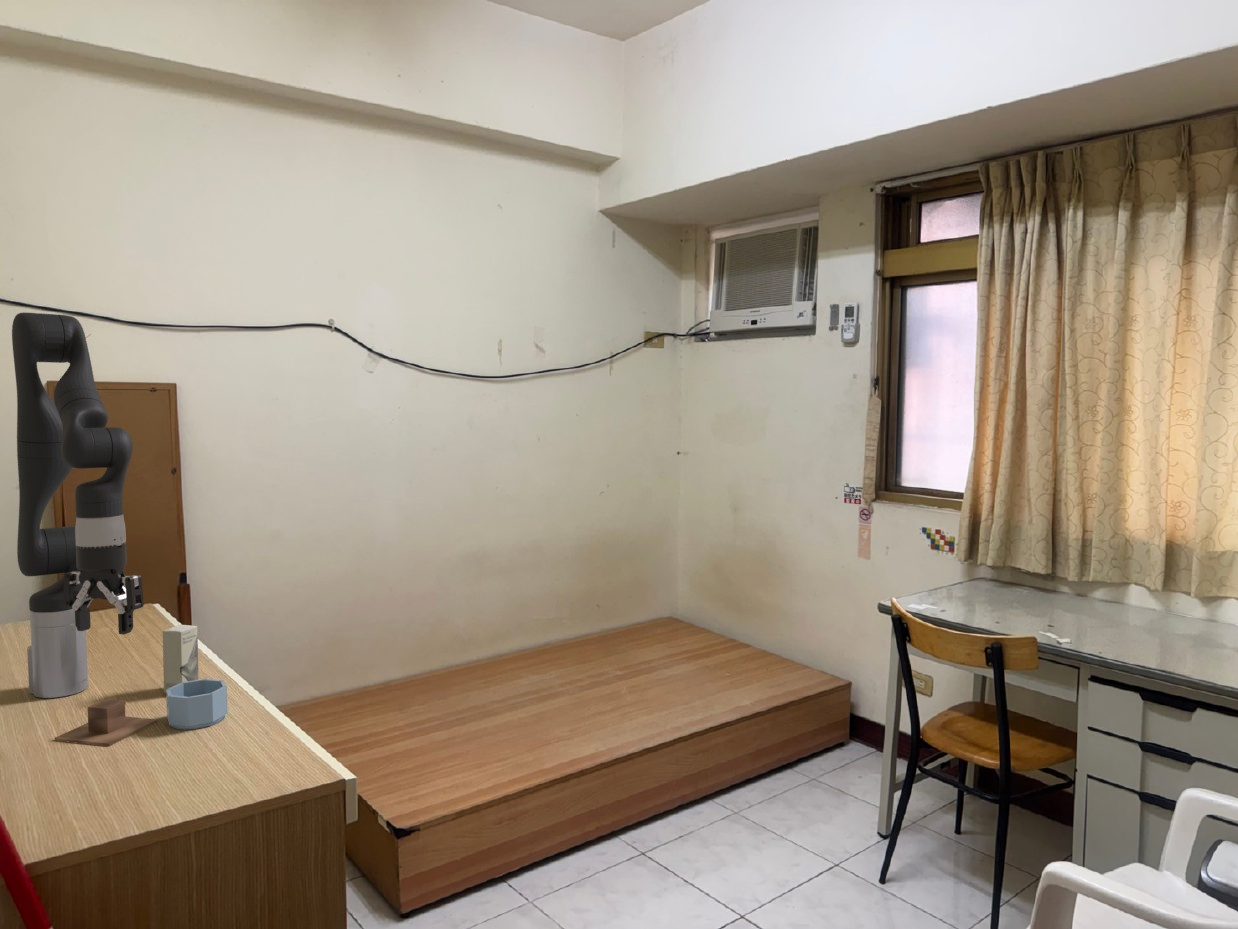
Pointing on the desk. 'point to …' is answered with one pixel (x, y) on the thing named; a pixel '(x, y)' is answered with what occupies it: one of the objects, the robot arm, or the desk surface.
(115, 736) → the lid
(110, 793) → the desk surface
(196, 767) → the desk surface
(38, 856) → the desk surface
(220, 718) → the bowl
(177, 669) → the box
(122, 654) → the desk surface
